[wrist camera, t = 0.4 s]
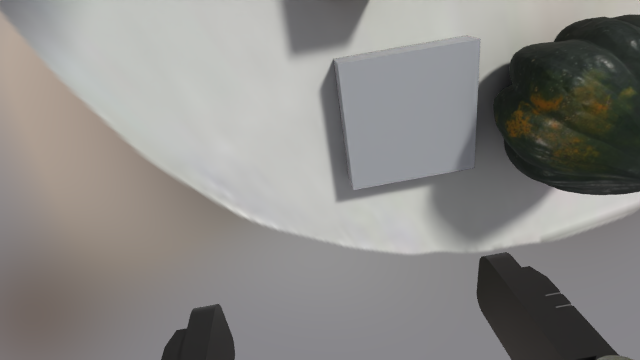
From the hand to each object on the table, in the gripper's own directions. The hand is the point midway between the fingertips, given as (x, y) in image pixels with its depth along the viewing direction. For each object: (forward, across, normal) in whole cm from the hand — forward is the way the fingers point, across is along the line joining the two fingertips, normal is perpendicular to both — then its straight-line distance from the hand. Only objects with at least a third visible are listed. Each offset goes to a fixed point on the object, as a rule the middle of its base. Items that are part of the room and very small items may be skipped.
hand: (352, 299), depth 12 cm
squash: (+26, -24, +4) cm, 35 cm away
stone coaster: (+25, -9, +4) cm, 27 cm away
